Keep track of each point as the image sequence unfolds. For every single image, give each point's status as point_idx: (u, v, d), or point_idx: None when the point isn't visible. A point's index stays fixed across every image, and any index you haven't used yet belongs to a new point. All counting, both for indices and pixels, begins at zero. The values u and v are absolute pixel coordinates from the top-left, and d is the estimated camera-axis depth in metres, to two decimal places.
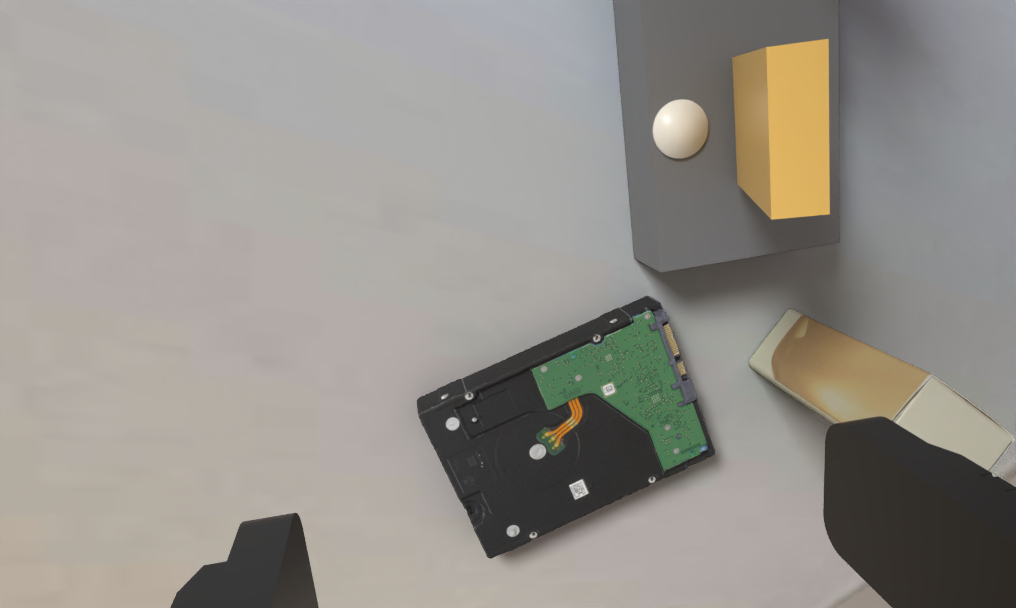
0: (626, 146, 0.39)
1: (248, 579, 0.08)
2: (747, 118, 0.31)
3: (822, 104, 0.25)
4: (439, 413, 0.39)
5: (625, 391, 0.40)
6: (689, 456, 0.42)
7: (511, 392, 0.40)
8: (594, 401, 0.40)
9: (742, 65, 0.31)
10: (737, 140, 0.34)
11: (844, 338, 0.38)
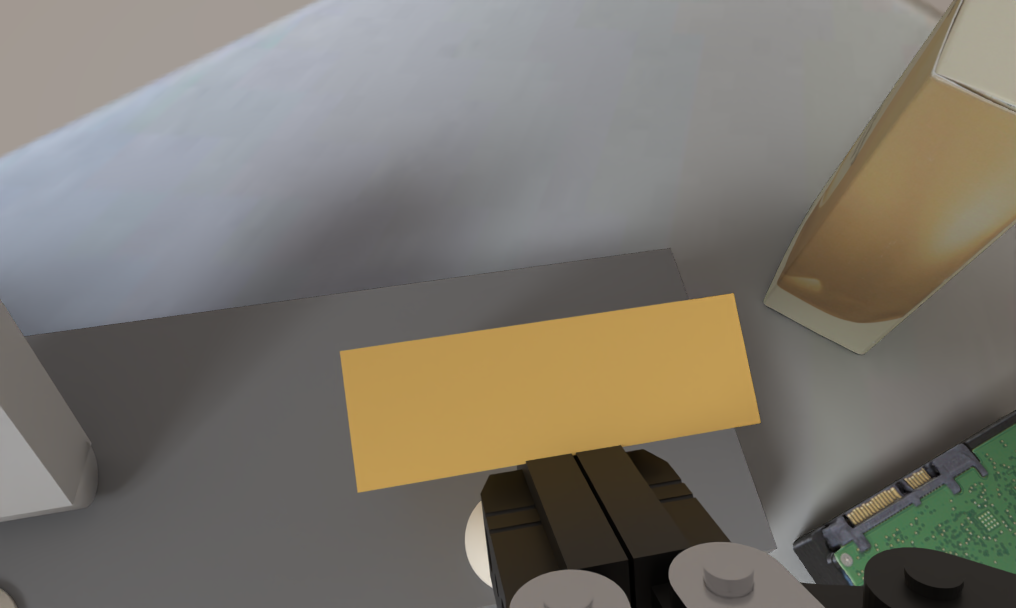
0: None
1: (557, 476, 0.10)
2: None
3: (488, 343, 0.11)
4: None
5: None
6: None
7: None
8: None
9: None
10: None
11: (832, 220, 0.23)
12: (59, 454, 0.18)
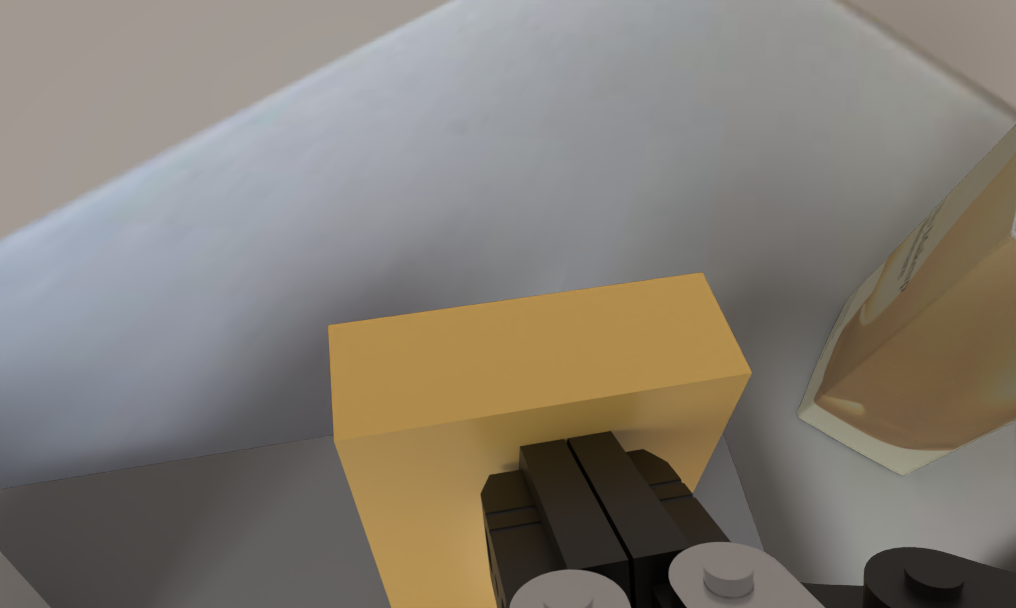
0: None
1: (557, 476, 0.10)
2: None
3: (469, 316, 0.11)
4: None
5: None
6: None
7: None
8: None
9: (409, 592, 0.15)
10: None
11: (882, 354, 0.21)
12: None
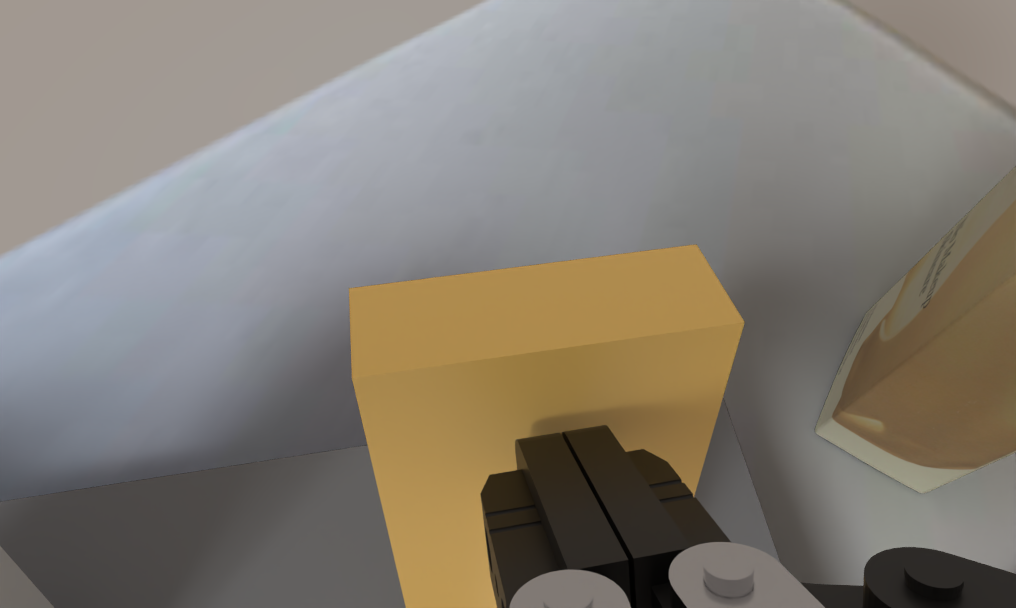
0: None
1: (557, 477, 0.10)
2: None
3: (479, 280, 0.12)
4: None
5: None
6: None
7: None
8: None
9: (423, 585, 0.15)
10: None
11: (903, 371, 0.21)
12: None
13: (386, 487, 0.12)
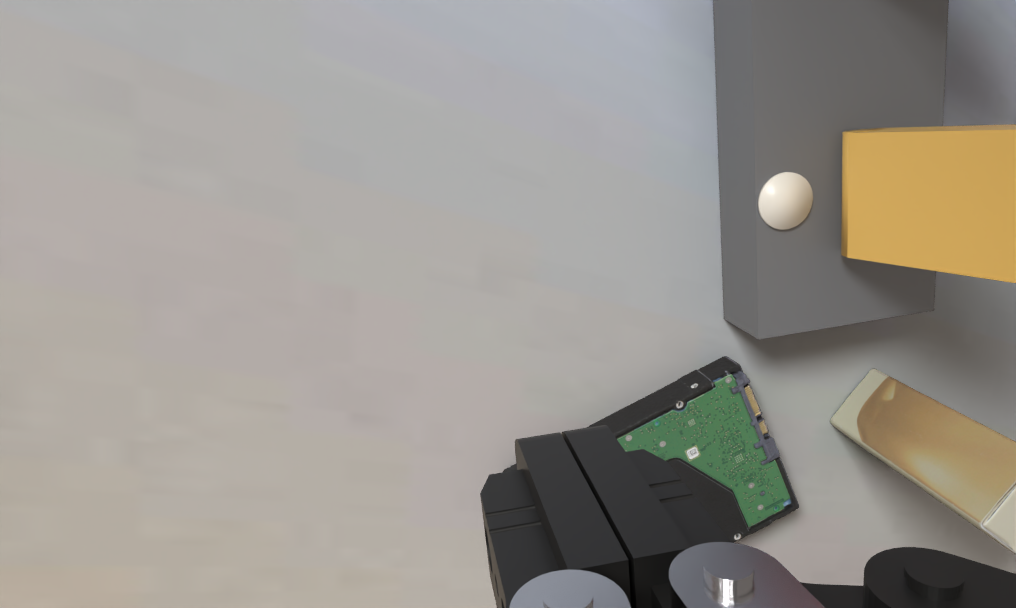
0: (722, 210, 0.39)
1: (557, 476, 0.10)
2: (942, 194, 0.31)
3: None
4: None
5: (709, 453, 0.41)
6: (773, 511, 0.43)
7: None
8: (678, 465, 0.41)
9: (921, 142, 0.31)
10: (862, 214, 0.34)
11: (939, 407, 0.38)
12: None
13: (1012, 133, 0.28)
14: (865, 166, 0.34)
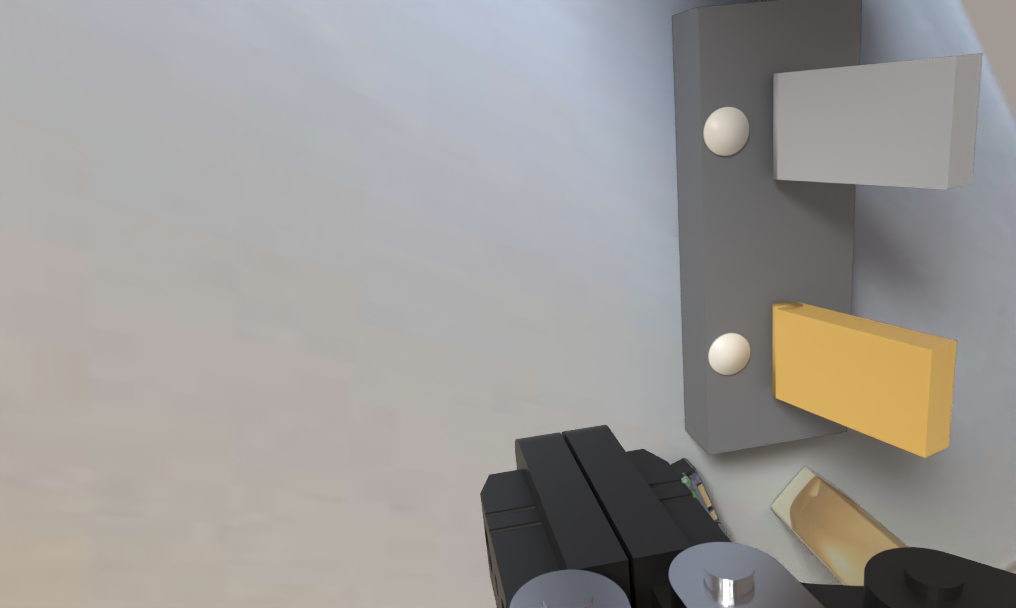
0: (684, 349, 0.50)
1: (557, 476, 0.10)
2: (838, 369, 0.42)
3: (951, 380, 0.38)
4: None
5: None
6: None
7: None
8: None
9: (824, 329, 0.42)
10: (785, 369, 0.45)
11: (848, 508, 0.49)
12: None
13: (881, 339, 0.39)
14: (787, 335, 0.44)
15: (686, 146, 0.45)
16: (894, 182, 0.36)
